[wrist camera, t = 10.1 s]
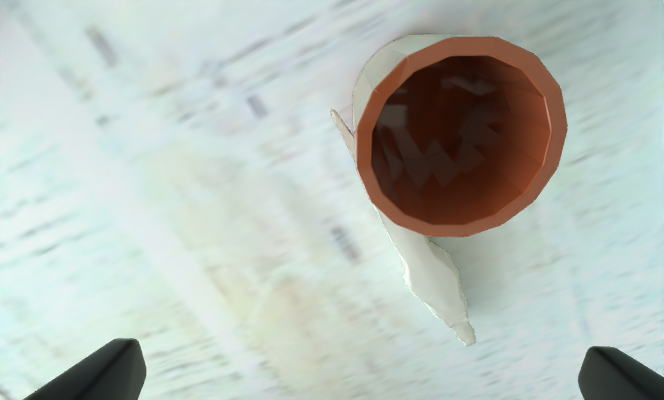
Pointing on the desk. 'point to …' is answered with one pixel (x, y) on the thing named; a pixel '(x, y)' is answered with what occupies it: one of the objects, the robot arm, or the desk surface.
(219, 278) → the desk surface
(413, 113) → the cup
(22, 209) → the desk surface
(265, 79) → the desk surface
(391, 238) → the white elongated piece
